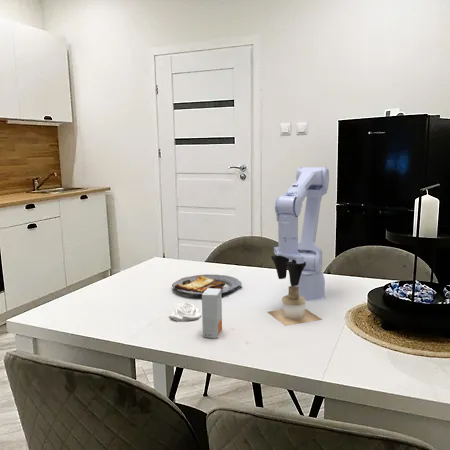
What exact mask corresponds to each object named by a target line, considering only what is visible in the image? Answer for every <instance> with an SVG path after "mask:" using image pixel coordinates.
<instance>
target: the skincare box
mask: <svg viewBox="0 0 450 450" xmlns="http://www.w3.org/2000/svg"><path fill="white" fill-rule="evenodd" d="M222 300H223V299H222V293H221V289H214V288H207V289H206V290H205V291H204V293H203V294H202V295H201V311H202V312H201V314H202V315H201V319H202V324H201V325H202V337H203V338H209V339H218V338H219V335H221V333H222V331H223V309H222V308H223V307H222V306H223V305H222V304H223V303H222V302H223V301H222Z"/></svg>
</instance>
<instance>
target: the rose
mask: <svg viewBox="0 0 450 450" xmlns="http://www.w3.org/2000/svg"><path fill="white" fill-rule="evenodd" d="M168 317H169V318H171V320H173V321H177V322H188V321H190V322H191V321H196V320H199V319H200V318H202V312H200V308H199V307H196V306H195V305H194V304H193V303H189V302H184V301H183V302H179V303H177V304H176V305H175V306H174V307H173V308H172V310H171V313H170V314H169V316H168Z"/></svg>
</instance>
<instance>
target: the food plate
mask: <svg viewBox="0 0 450 450" xmlns="http://www.w3.org/2000/svg"><path fill="white" fill-rule="evenodd" d="M242 284H243V283H242V281H241V280H240V279H238V278H236V277H234V276H229V275H227V274H226V275H222V274H213V273H211V274H197V275H195V274H194V275H192V276H190V275H189V276H185V277H182V278H180V279H177V280H176V281H174V282H173V283H172V285H171V286H172V289H173V290H174V291H176V292H180V293H183V294H184V293H185V294H188V295H201V296H202V294H203V293H204V291H205V290H206V289H207V288H214V289H221V294H226V293H231V292H232V291H233V290H235V289H236V288H238V287H239V286H242Z"/></svg>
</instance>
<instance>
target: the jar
mask: <svg viewBox="0 0 450 450" xmlns="http://www.w3.org/2000/svg"><path fill="white" fill-rule="evenodd" d="M282 309H283V316H284V317H285V318H287V319H302V318H304V317H305V309H306V302H305V303H304V304H300V305H289V304H285V303H283V302H282Z"/></svg>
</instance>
